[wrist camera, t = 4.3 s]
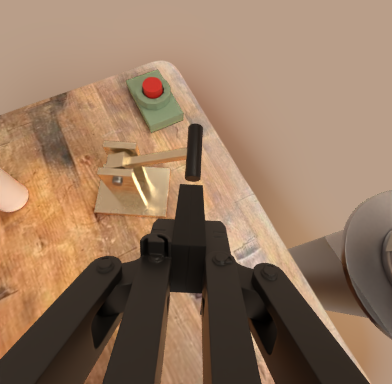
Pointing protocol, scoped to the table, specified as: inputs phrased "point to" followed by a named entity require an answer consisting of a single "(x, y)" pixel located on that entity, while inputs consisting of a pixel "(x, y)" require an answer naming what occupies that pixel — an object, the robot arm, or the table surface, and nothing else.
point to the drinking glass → (11, 193)
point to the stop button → (152, 87)
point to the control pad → (155, 103)
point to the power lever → (166, 156)
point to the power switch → (132, 187)
